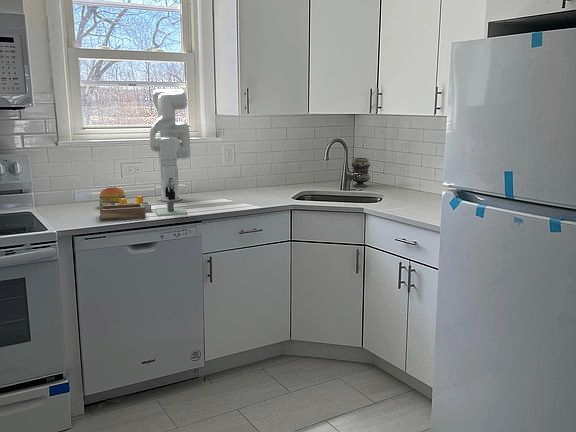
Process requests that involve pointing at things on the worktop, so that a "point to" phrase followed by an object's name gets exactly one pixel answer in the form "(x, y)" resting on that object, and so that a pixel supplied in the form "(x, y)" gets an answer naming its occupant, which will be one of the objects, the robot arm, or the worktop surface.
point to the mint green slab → (170, 210)
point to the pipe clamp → (138, 200)
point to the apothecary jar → (361, 171)
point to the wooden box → (121, 211)
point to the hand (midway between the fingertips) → (170, 198)
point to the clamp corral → (146, 205)
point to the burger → (111, 195)
